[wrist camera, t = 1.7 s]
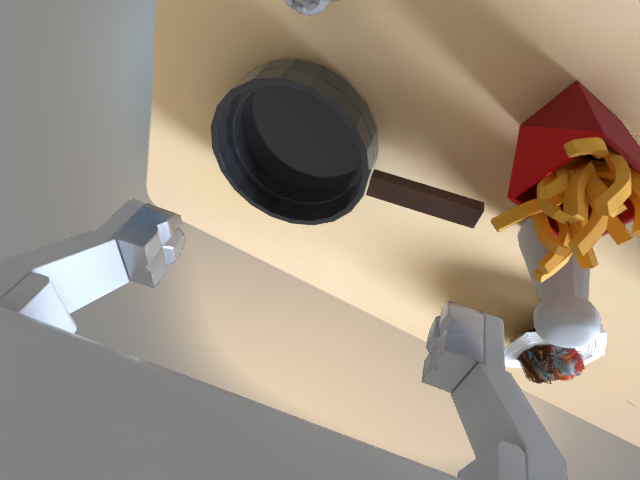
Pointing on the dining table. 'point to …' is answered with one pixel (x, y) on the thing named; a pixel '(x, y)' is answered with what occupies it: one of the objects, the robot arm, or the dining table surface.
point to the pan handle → (425, 199)
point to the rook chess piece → (308, 6)
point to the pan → (296, 142)
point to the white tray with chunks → (551, 356)
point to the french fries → (574, 179)
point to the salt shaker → (560, 297)
